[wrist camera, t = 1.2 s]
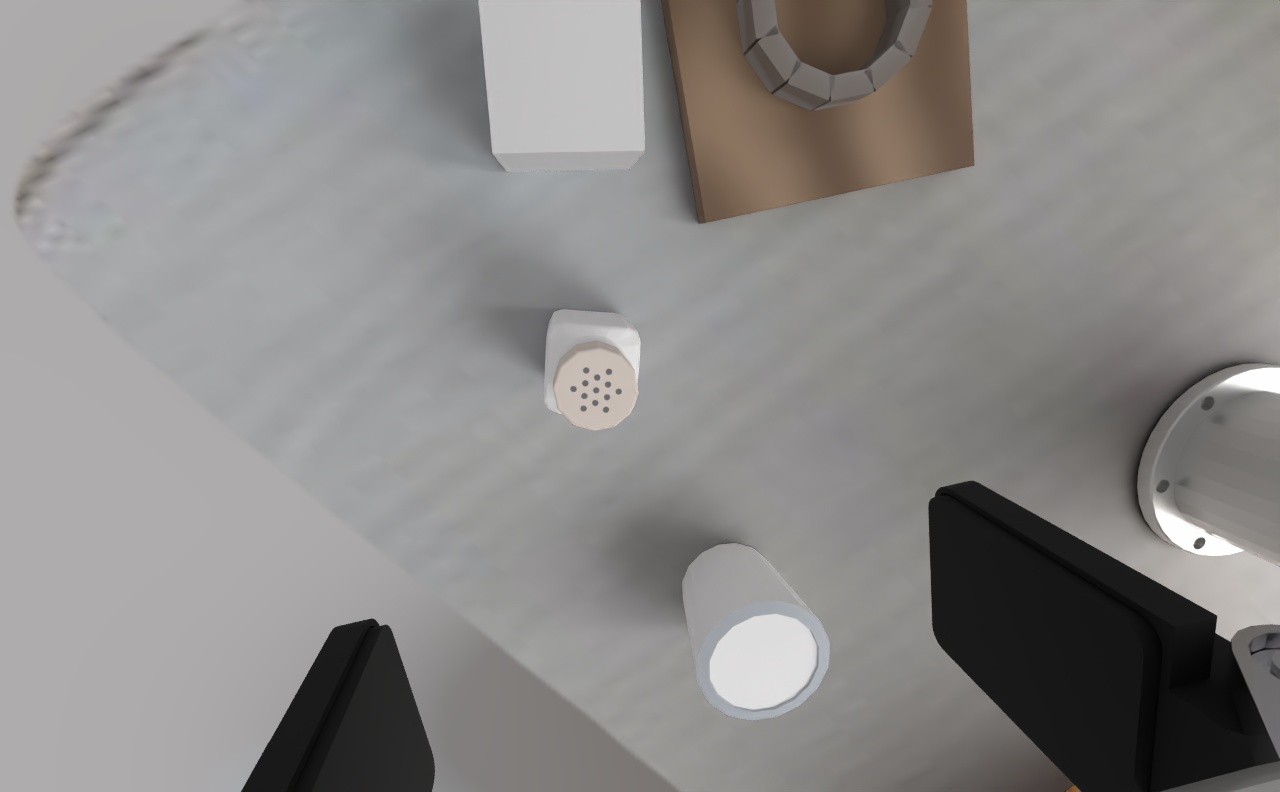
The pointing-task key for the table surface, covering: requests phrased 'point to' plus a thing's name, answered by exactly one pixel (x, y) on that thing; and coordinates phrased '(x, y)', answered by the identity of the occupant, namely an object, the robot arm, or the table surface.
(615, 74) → the white cube
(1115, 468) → the table surface
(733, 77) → the carrier board
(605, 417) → the salt shaker
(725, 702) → the shot glass
